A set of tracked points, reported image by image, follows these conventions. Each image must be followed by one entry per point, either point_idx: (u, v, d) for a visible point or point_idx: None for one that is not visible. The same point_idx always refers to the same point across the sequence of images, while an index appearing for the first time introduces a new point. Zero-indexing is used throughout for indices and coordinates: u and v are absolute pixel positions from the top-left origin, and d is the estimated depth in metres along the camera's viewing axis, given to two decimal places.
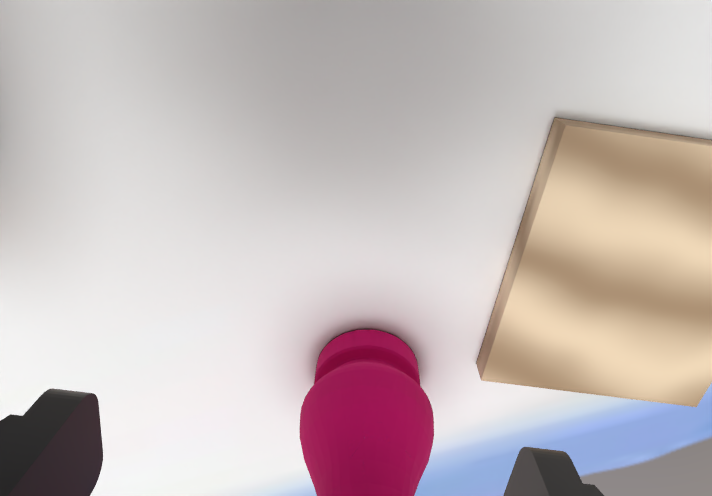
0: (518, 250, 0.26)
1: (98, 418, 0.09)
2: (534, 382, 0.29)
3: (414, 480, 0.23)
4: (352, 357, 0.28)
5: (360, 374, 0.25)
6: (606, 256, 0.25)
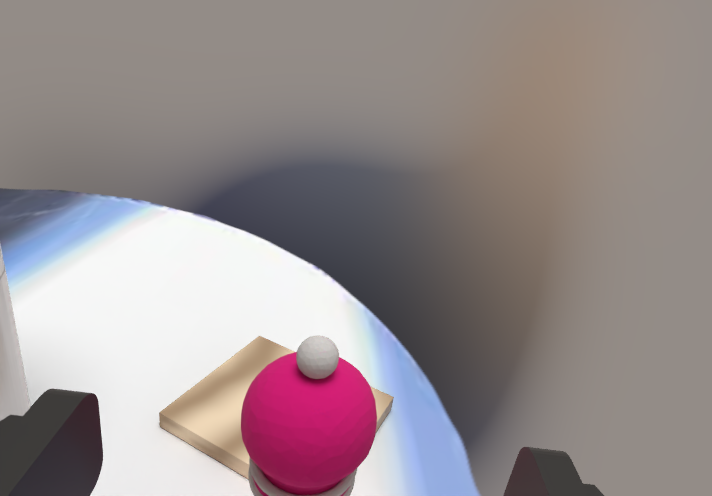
0: (224, 456, 0.37)
1: (98, 418, 0.09)
2: None
3: None
4: None
5: None
6: None
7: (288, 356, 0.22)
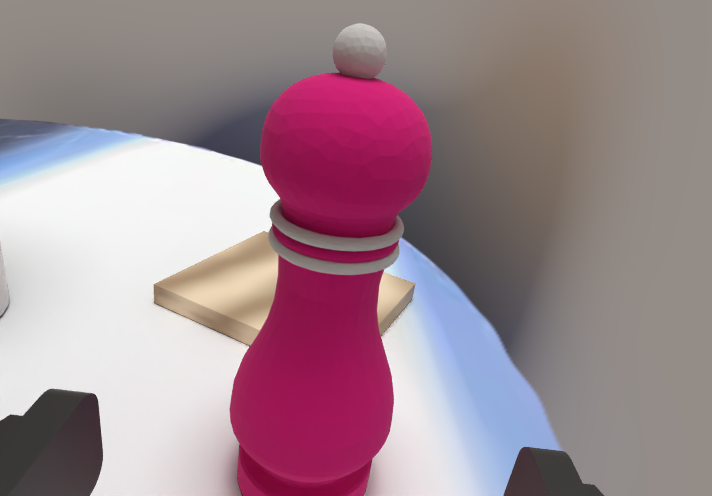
0: (229, 325, 0.33)
1: (98, 418, 0.09)
2: None
3: None
4: None
5: None
6: (260, 289, 0.36)
7: None
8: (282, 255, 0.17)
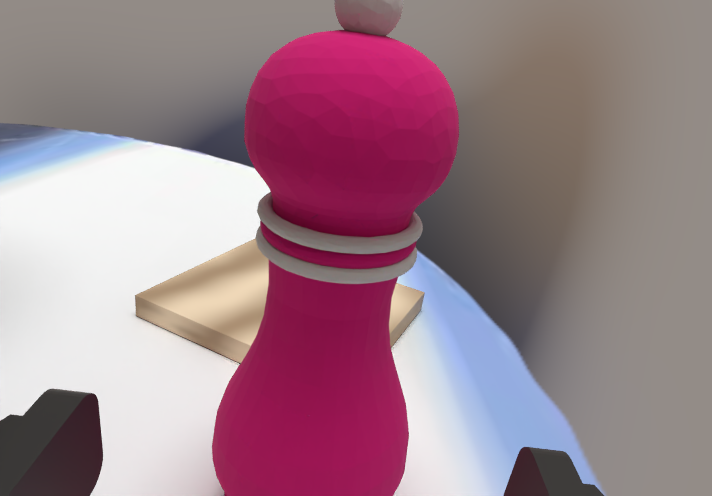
0: (218, 341, 0.29)
1: (98, 418, 0.09)
2: None
3: None
4: None
5: None
6: (254, 300, 0.32)
7: None
8: (272, 259, 0.14)
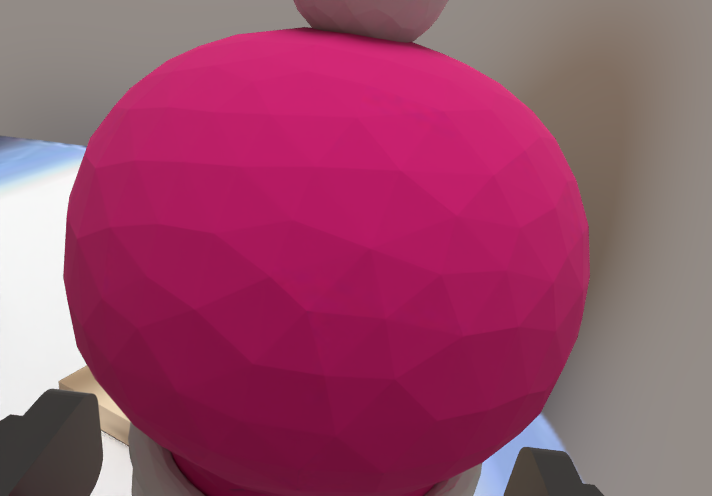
0: None
1: (98, 418, 0.09)
2: None
3: None
4: None
5: None
6: None
7: None
8: None
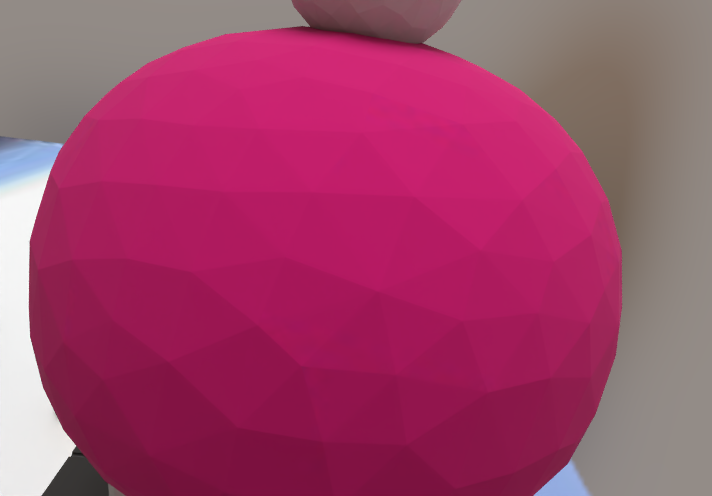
0: None
1: None
2: None
3: None
4: None
5: None
6: None
7: None
8: None
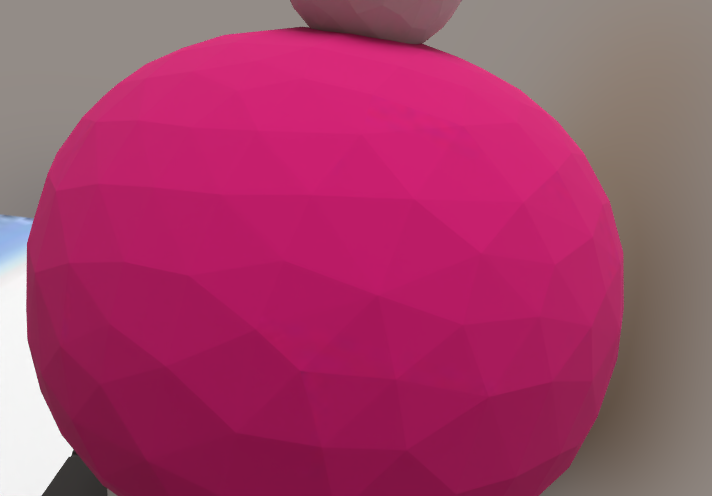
0: None
1: None
2: None
3: None
4: None
5: None
6: None
7: None
8: None
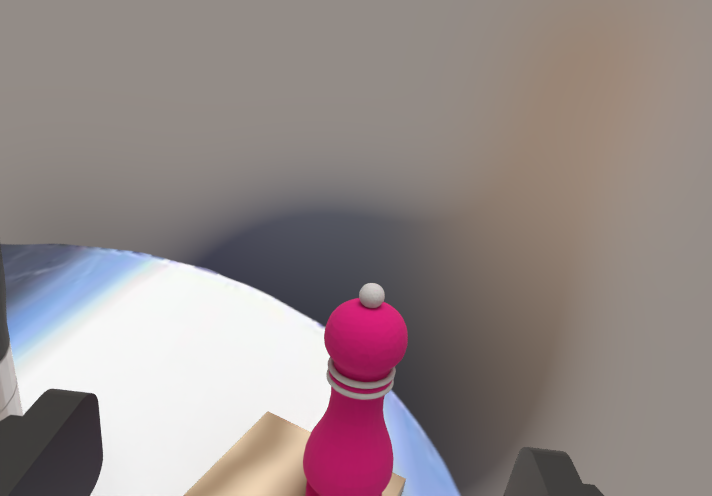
0: None
1: (98, 418, 0.09)
2: None
3: None
4: None
5: (305, 448, 0.40)
6: None
7: (351, 300, 0.36)
8: (336, 389, 0.35)
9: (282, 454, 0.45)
